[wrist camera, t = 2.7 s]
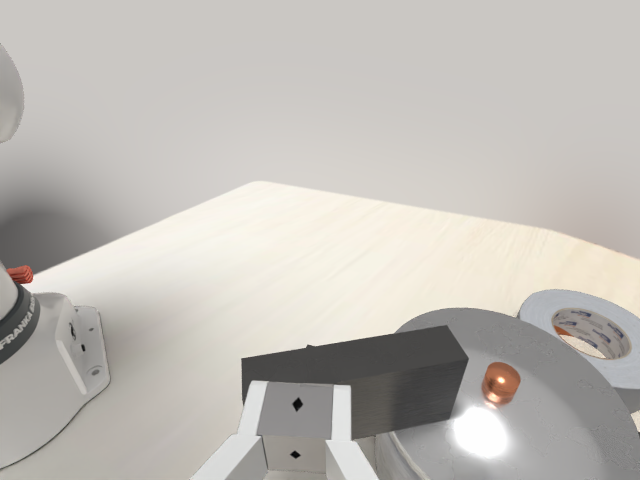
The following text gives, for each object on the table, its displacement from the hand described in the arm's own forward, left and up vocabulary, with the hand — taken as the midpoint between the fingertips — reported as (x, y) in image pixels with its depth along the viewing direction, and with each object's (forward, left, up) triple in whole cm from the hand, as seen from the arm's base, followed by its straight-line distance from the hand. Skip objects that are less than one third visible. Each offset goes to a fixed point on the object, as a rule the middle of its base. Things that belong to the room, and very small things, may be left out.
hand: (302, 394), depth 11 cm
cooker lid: (-6, +13, -18) cm, 23 cm away
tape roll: (-10, +39, -28) cm, 49 cm away
